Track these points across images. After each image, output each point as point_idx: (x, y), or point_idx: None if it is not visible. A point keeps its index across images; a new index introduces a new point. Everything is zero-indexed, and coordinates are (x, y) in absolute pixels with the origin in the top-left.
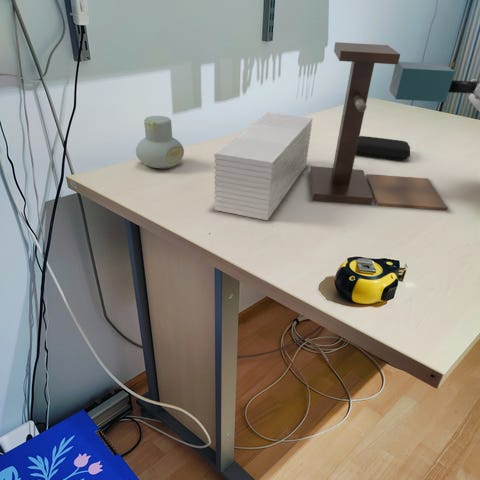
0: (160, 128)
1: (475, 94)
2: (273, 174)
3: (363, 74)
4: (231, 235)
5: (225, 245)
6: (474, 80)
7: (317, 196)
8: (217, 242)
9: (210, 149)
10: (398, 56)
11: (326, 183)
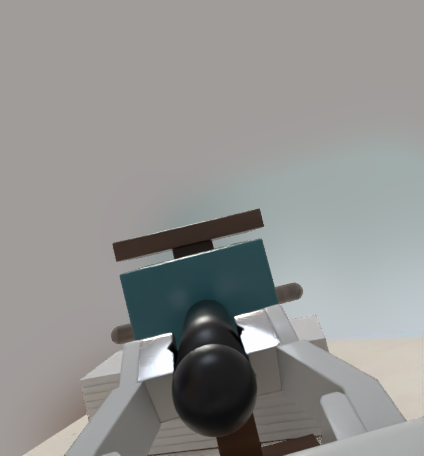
0: None
1: (304, 407)
2: (92, 397)
3: None
4: (64, 448)
5: (42, 452)
6: (245, 313)
7: None
8: (51, 445)
9: (328, 350)
10: (113, 247)
11: None
